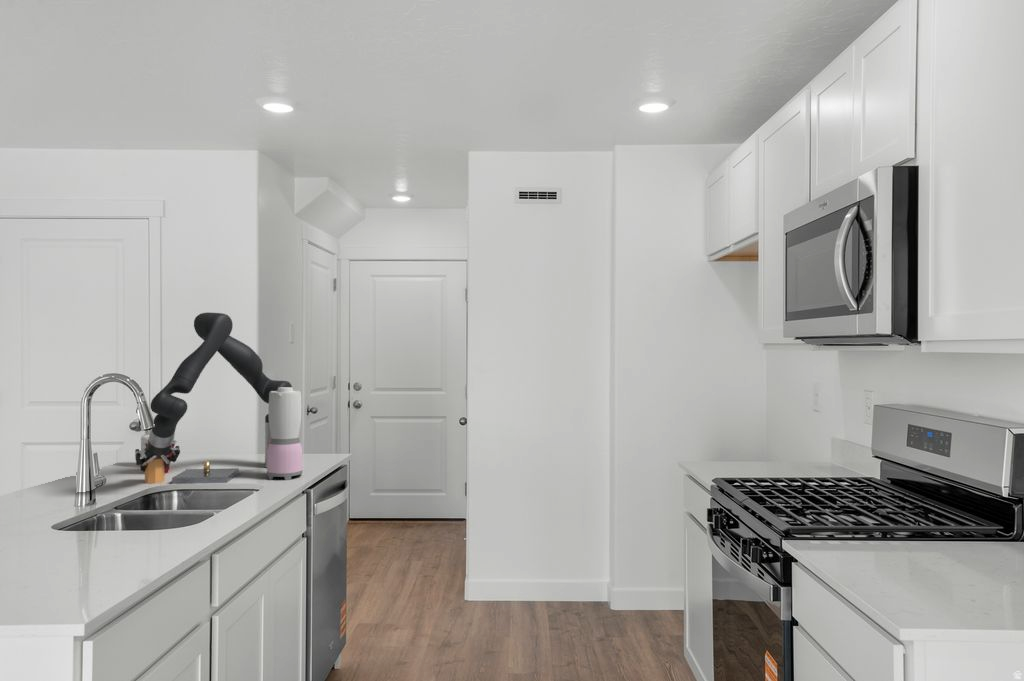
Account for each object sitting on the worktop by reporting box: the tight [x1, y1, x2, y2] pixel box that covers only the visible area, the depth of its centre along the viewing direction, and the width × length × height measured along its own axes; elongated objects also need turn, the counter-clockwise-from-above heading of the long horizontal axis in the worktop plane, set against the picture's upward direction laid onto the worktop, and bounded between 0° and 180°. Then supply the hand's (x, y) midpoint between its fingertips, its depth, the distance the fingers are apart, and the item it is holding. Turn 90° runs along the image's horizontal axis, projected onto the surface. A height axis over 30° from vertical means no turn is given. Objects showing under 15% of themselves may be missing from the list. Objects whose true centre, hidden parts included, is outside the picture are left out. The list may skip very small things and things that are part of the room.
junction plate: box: [171, 460, 240, 485], centre depth 252 cm, size 16×18×6 cm
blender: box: [266, 386, 303, 481], centre depth 257 cm, size 16×12×32 cm
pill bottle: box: [140, 430, 151, 459], centre depth 276 cm, size 8×8×15 cm
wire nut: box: [144, 458, 166, 484], centre depth 246 cm, size 6×6×10 cm
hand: (153, 468), depth 247 cm, fingers closed on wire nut, 6 cm apart
